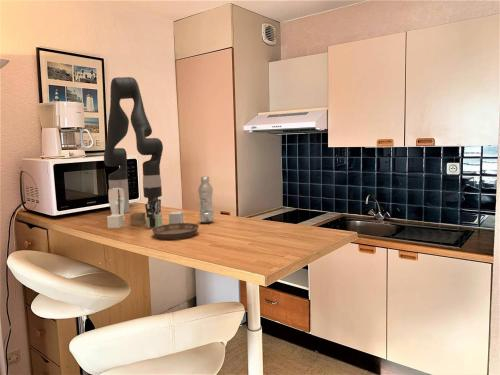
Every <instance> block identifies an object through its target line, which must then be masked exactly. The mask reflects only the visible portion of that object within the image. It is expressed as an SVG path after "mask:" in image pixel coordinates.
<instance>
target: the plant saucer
mask: <svg viewBox="0 0 500 375" xmlns="http://www.w3.org/2000/svg"><path fill="white" fill-rule="evenodd" d="M199 227H200V226H199V225H198V224H197V223H190V222H189V223H188V222H184V223H176V224H162V225H161V226H159V227H154V228H152V229H151V232H152V233H153V234H154V236H155V237H156V238H158V239H160V240H181V238H182V239H186V237H187V238H189V237H190V238H191V237H192V236H194V235H195V234H196V232H197V231H198V230H199Z"/></svg>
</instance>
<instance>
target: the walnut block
mask: <svg viewBox="0 0 500 375" xmlns="http://www.w3.org/2000/svg"><path fill="white" fill-rule="evenodd" d="M129 216H130V217H129V218H130V220H129V221H130V226H131V227H139V226H140V227H143V226H144V225H145V224H146V225H147V218H146V216H147V214H146V211H145V212H133V213H131V214H129Z"/></svg>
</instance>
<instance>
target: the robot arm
mask: <svg viewBox="0 0 500 375" xmlns="http://www.w3.org/2000/svg"><path fill="white" fill-rule="evenodd" d="M109 94H110V97H109V99H110V101H109V102H110V103H109V104H110V106H109V116H108V121H107V131H106V132H107V133H106V134H107V135H106V142H105V146H104V153H103V162H104V164H105V166H106V167H119V168H118V169H117V170H115V171H113V172H112V173H109V174H108V189H111V188H123V190H124V198H125V201H124V214H126V213H130V212H131V211H130V199H129V198H130V197H129V195H130V194H129V182H128V165H127V164H128V159H127V158H128V155H127V151H126V149H125V148H123V147H116V146H117V145H118V144H119V143H120V142H121V141H122V140H123V139H124V138H125V137H126V136H127V133H128V132H129V126H130V124H131V126H132V128H133V131H134V134H135V141H136V142H135V143H136V150H137V152H138V153H139V155H141V156H151V157H150V158H149V159H148V160H146V161H144V162H142V189H143V192H142V193H143V197H144V198H145V199H147V202H146V203H145V206H144V207H145V215H146V216H147V217H148V218H149V222H150V227H154V228H156V227H155V214H162V212H161V211H162V199H161V198H160V197H162V196H163V192H162V187H163V186H162V178H161V166H160V165H161V159H162V155H163V150H164V145H163V142H162V140H161V139H160V138H157V137H149V136H151V135H152V134H153V129H152V126H151V123H150V122H149V119H148V116H147V115H146V112H145V107H144V102H143V98H142V94H141V91H140V86H139V84H138V81H137V80H136V79H135V77H130V76H128V77H127V76H126V77H121V76H120V77H114V78H112V79H111V82H110V93H109ZM126 99H127V100H128V99H132V100H133V107H132V111H131V114H130V118H129V117H128V116H127V113H126V112H125V111H124V109H123V107H121V100H126ZM129 119H130V120H129ZM148 137H149V138H148ZM115 147H116V148H115ZM110 212H111V211H110ZM111 214H112V212H111Z"/></svg>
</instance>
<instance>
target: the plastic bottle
mask: <svg viewBox="0 0 500 375" xmlns="http://www.w3.org/2000/svg"><path fill="white" fill-rule="evenodd" d="M213 190H214V189H213V186H212V185H211V183H210V176H200V184H199V186H198V189H197V193H198V198H199V218H198V219H199V221H200V222H201V223H205V224H208V223H212V222H214V218H215V214H214V208H213Z"/></svg>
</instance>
